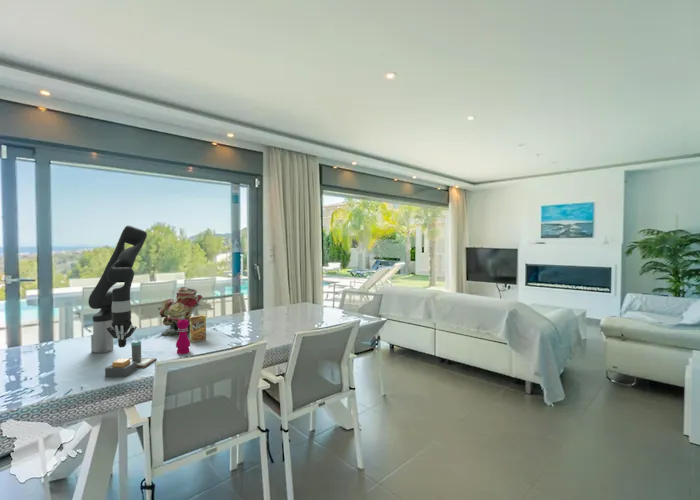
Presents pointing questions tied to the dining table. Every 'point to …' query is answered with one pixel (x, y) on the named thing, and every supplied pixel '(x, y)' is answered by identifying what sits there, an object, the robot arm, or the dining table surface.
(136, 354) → the marker
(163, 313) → the rose bouquet
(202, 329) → the candy box
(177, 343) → the pepper mill
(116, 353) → the dining table surface
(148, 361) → the board
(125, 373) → the button housing
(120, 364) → the button
